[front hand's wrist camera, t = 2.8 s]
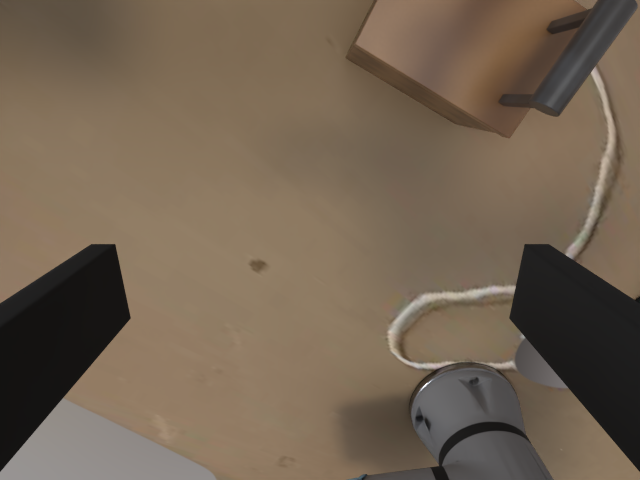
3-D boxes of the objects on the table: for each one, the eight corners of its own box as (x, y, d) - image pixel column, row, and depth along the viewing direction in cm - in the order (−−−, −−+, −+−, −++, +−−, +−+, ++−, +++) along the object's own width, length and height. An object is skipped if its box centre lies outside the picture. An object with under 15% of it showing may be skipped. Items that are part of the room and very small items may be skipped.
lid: (584, 18, 29) (684, -11, 21) (502, 137, 32) (562, 150, 24) (424, -95, 27) (470, -177, 19) (353, 46, 30) (365, 28, 22)
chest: (514, 33, 38) (577, 13, 29) (456, 124, 42) (495, 133, 32) (397, -46, 36) (424, -95, 27) (345, 57, 39) (353, 46, 30)
